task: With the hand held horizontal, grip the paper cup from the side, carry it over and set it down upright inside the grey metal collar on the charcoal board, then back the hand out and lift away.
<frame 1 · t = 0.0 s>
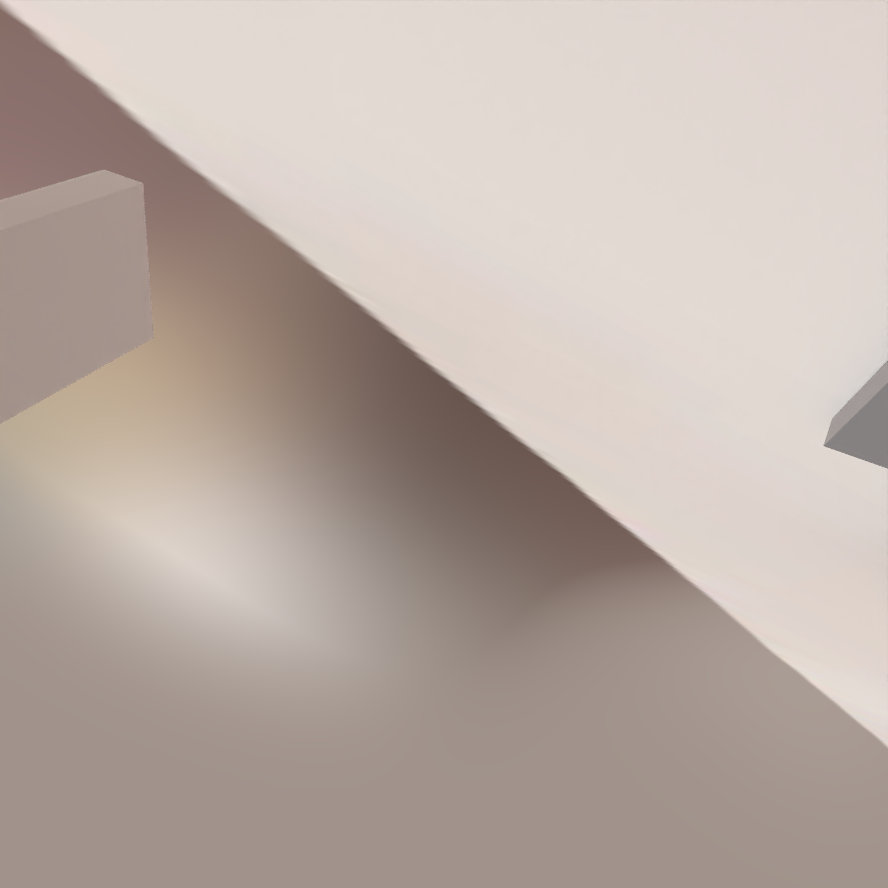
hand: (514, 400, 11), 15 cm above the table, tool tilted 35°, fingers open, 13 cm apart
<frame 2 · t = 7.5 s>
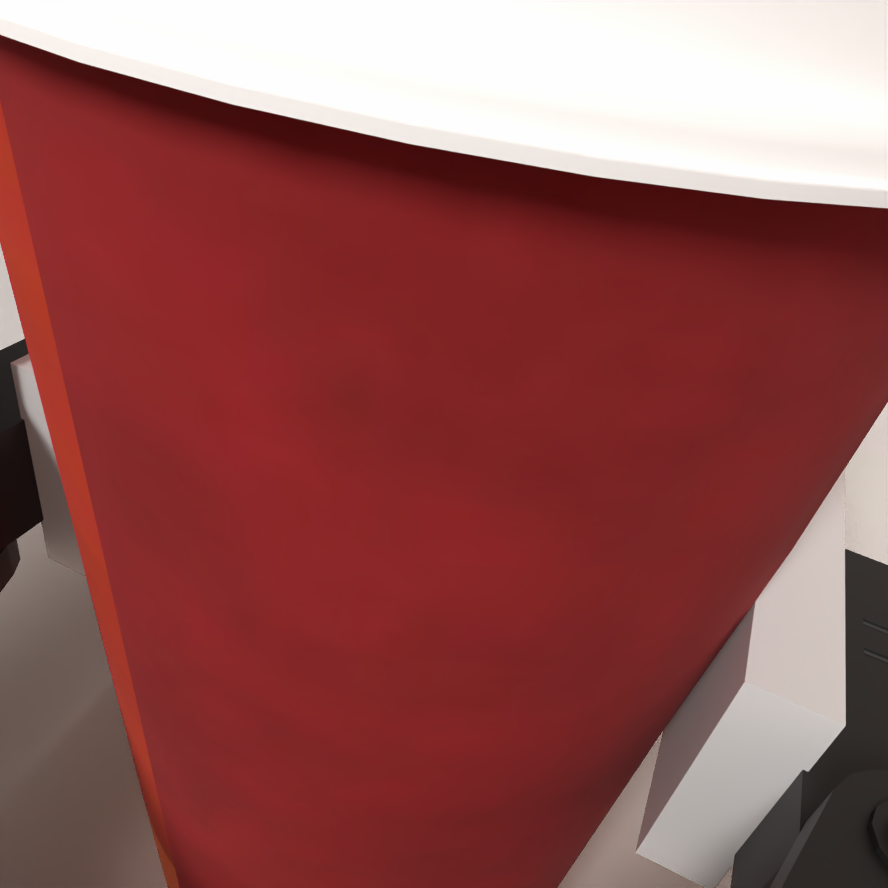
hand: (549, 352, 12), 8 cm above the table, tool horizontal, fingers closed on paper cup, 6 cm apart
paper cup: (349, 863, 13), on the table, touching gripper
when the fingers open (10 cm above the table, at t = 14.1 s): paper cup moves 2 cm, resting on collar board.
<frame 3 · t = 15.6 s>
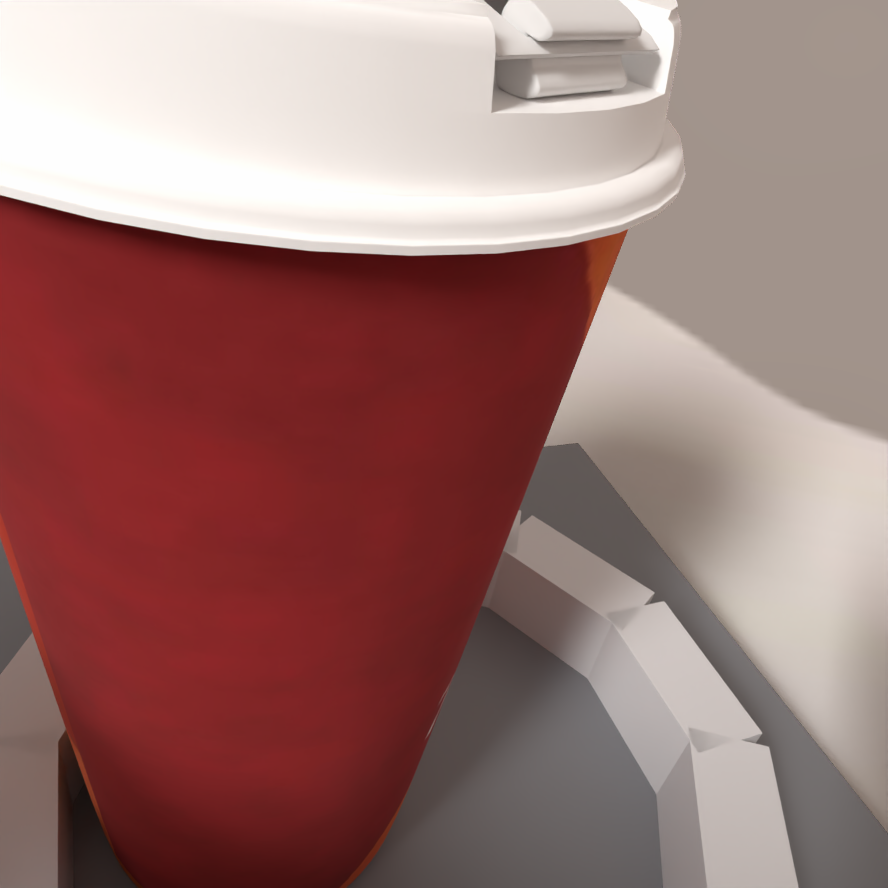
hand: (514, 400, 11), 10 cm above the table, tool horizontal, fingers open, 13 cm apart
collar board: (375, 836, 16), on the table
paper cup: (256, 776, 15), point 1 cm above the table, touching collar board, gripper
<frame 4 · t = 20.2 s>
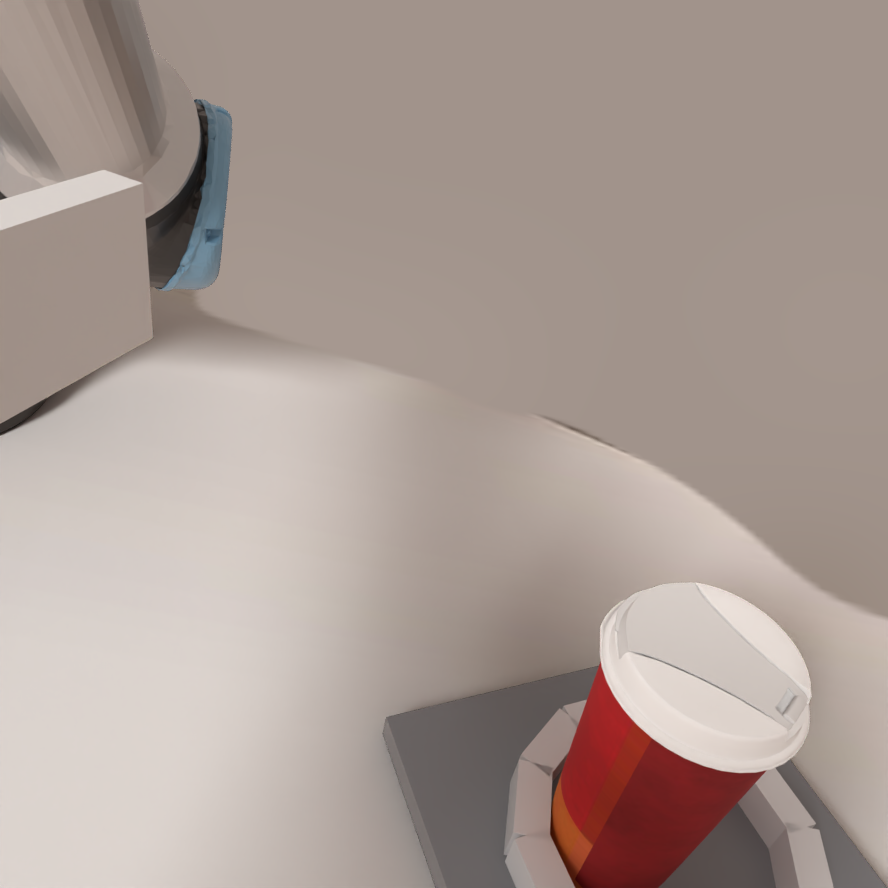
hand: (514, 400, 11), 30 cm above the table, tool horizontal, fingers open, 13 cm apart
collar board: (646, 867, 37), on the table
paper cup: (601, 843, 36), point 1 cm above the table, touching collar board
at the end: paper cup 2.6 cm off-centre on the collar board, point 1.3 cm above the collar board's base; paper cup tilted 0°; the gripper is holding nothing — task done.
